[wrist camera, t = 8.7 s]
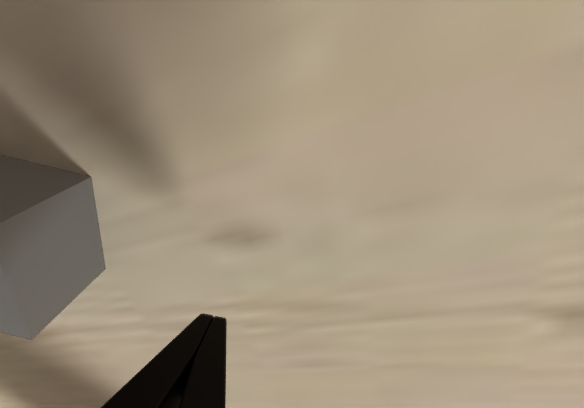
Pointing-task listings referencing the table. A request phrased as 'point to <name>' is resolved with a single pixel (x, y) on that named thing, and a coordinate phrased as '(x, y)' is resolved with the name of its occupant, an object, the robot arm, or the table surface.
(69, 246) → the block
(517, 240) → the table surface
